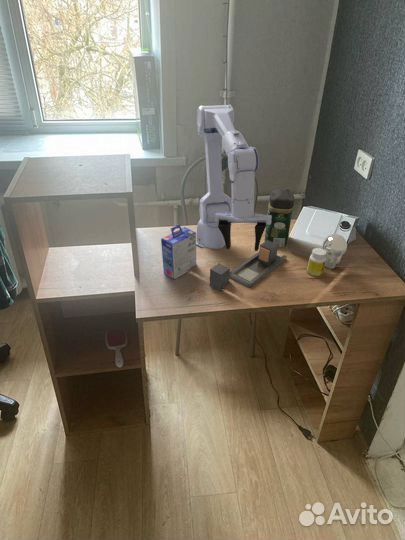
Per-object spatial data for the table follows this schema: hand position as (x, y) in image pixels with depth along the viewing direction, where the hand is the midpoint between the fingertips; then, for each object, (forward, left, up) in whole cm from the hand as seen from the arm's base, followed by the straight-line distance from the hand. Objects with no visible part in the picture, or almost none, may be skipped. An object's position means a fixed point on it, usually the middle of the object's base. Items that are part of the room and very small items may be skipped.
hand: (242, 248), depth 104 cm
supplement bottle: (+12, +22, -15) cm, 29 cm away
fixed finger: (-2, +17, -13) cm, 22 cm away
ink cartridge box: (-20, -4, -15) cm, 25 cm away
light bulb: (+14, +28, -15) cm, 35 cm away
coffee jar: (-7, +30, -15) cm, 34 cm away
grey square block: (-6, -2, -14) cm, 16 cm away
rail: (-2, +12, -14) cm, 19 cm away
